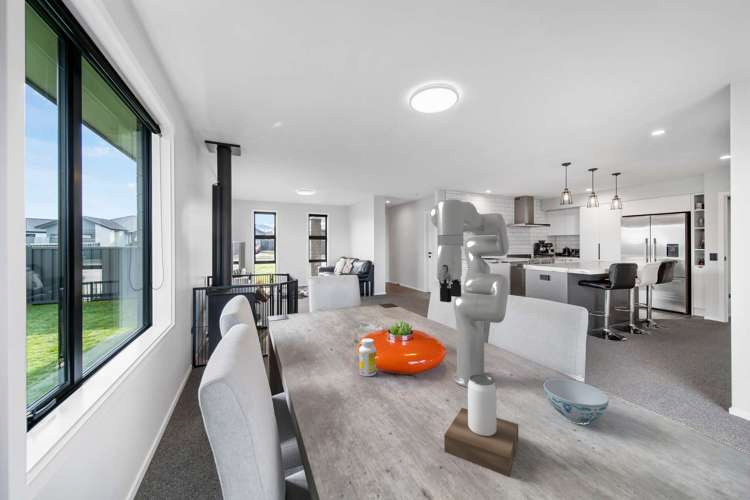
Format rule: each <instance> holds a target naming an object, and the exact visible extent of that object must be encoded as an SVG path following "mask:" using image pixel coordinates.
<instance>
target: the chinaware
mask: <svg viewBox="0 0 750 500" xmlns="http://www.w3.org/2000/svg"><path fill="white" fill-rule="evenodd" d="M543 389H544V393H545V395H546V398H547V400H548V401H549V403H550V405H551V406H552V407H553V408H554V410H556V411H557V412H558V413H559V414H560V416H561V417H563V418H562V419H564V418H565V419H566V420H565V419H564V420H565V421H567V420H568V421H571V422H575V423H583V424H584V423H588V422H589V421H590V422H593V421H595V420H597V419H599V418H600V417H601V416H603V415H604V413H605V412H606V410H607V409H608V406H609V403H610V400H609V399H610V398H609V396H608V394H606V393H605V392H604V391H602V390H601V389H599V388H598V387H595V386H593V385H590V384H588V383H584V382H582V381H576V380H571V379H565V378H553V379H547V380H545V382H544V383H543ZM568 421H567V422H568ZM571 422H570V423H571Z"/></svg>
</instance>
